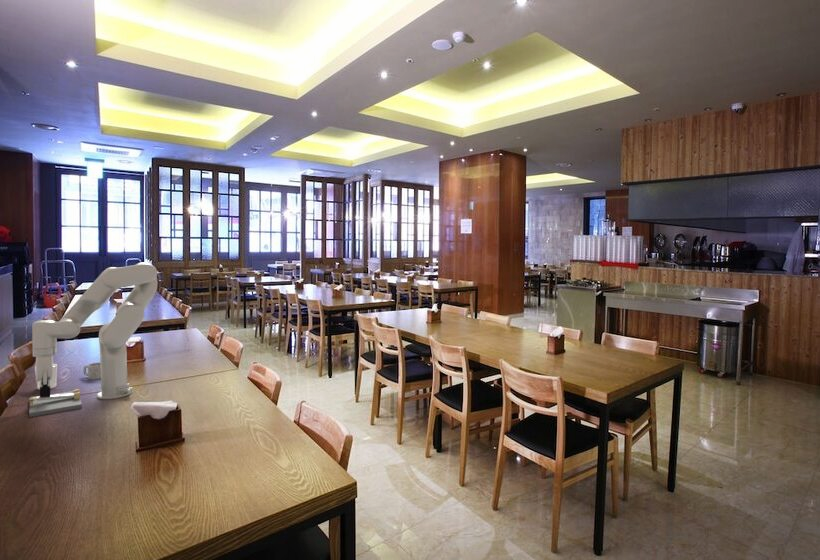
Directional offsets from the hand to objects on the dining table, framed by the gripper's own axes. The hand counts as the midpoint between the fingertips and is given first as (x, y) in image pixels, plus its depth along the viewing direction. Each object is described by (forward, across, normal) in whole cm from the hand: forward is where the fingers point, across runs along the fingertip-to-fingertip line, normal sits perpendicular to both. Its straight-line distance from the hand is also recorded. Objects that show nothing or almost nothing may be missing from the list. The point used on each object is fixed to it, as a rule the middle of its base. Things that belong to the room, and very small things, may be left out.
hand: (45, 396), depth 180 cm
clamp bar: (+1, 0, +4) cm, 4 cm away
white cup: (+4, -30, +1) cm, 30 cm away
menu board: (+4, 0, +4) cm, 6 cm away
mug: (+4, -36, +19) cm, 41 cm away
